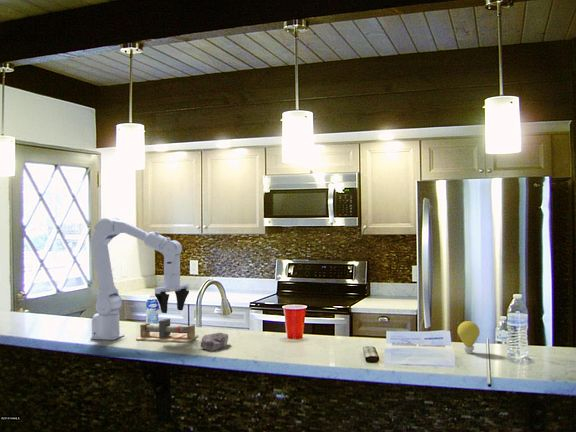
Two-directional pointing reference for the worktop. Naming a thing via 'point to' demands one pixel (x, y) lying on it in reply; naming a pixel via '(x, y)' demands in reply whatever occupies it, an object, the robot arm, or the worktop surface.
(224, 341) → the rock
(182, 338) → the pipe rig
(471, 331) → the light bulb
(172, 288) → the robot arm
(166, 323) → the collar
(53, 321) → the worktop surface
